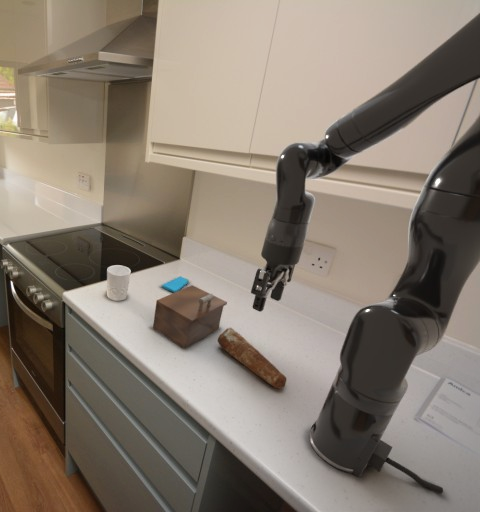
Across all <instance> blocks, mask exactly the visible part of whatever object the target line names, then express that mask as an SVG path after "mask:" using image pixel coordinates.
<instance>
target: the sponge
mask: <svg viewBox="0 0 480 512" xmlns="http://www.w3.org/2000/svg"><path fill="white" fill-rule="evenodd" d="M189 281H190V280H189V279H188V278H186V277H183V276H178V277H176V278H174V279H172V280H170V281H168V282H167V281H166V282H165V283H163V284H162V285H161V288H163V289H165V290H166V291H170V292H172V293H175V292H177V291H179V290H182V289H183V288H184V287H185V286H186V285H187V284H188V283H189Z"/></svg>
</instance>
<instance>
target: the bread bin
mask: <svg viewBox="0 0 480 512" xmlns="http://www.w3.org/2000/svg"><path fill="white" fill-rule="evenodd" d="M223 312H224V306H223V307H221V308H219V309H217V310H215V311H213V312H212V313H210V314H208V315H206V316H204V317H202V318H201V319H199V320H197V321H195V322H193V323H190V322H189V321H187V320H185V319H184V318H182V317H180V316H178V315H177V314H175V313H173V312H172V311H170V310H168V309H166V308H165V307H163V306H161V305H159V304H158V303H156V302H155V309H154V317H153V322H152V323H153V324H152V329H153V330H155V331H156V332H158V333H159V334H161V335H162V336H163V337H165V338H167V339H168V340H170V341H171V342H173V343H174V344H176V345H177V346H179V347H180V348H182V349H183V350H184V349H187V348H188V347H190V346H191V345H193V344H195V343H197V342H198V341H201V339H204V338H205V337H207V336H208V335H210V334H211V333H214V332H215V331H217V330H218V329H219V327H220V323H221V319H222V315H223Z"/></svg>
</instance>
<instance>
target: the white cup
mask: <svg viewBox="0 0 480 512" xmlns="http://www.w3.org/2000/svg"><path fill="white" fill-rule="evenodd" d="M131 272H132V271H131V268H129V267H127V266H125V265H120V264H115V265H110V266H108V267H107V269H106V296H107V298H108V299H110V300H112V301H115V302H120V301H124V300H126V299H127V296H128V295H127V294H128V291H129V285H130V281H131V280H130V279H131Z"/></svg>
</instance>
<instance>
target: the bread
mask: <svg viewBox="0 0 480 512" xmlns="http://www.w3.org/2000/svg"><path fill="white" fill-rule="evenodd" d="M217 343H218V344H219V346H220V347H221V348H222V349H223V350H224V351H226V352H227V353H228V354H229V355H230V356H232V357H233V358H234V359H235V360H237V361H238V362H240V363H241V364H242V365H243V366H245V367H246V368H247V369H249V371H251V372H253V374H255V375H257V377H259V378H261V379H262V380H263V381H265V382H266V383H268V384H269V385H271V386H272V387H273V388H275V389H284V387H286V384H287V376H286V375H284V374H283V373H282V371H280V370H279V369H278V368H277V366H275V365H274V364H273V363H272V362H271V361H270V360H269V359H267V358H266V357H265V356H264V355H263V354H262V353H261V352H260V351H259V350H257V348H255V347H254V346H253V344H251V343H250V342H249V341H248V340H246V339H245V337H243V336H242V334H240V333H239V332H238V331H237V330H235V329H234V328H233V327H227V328H226V329H225V330H224V331H223V332H222V333H220V334H219V335H218V337H217Z"/></svg>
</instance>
